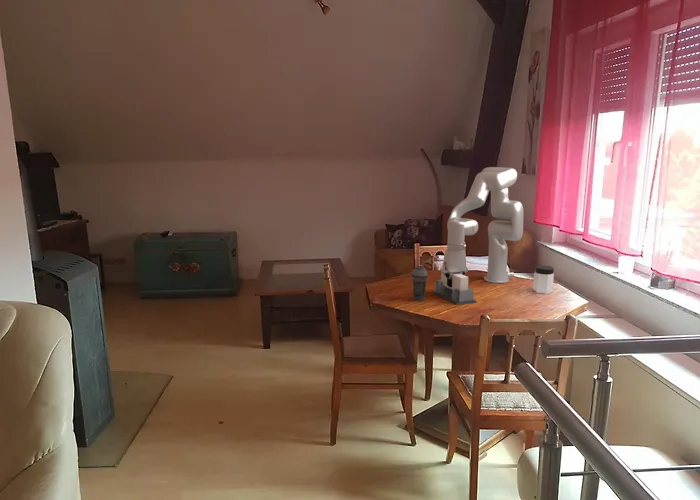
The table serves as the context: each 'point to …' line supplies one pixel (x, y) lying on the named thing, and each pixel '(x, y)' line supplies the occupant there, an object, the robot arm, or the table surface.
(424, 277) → the beverage cup
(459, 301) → the bracket board
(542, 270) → the jar
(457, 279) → the rail
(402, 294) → the table surface
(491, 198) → the robot arm
